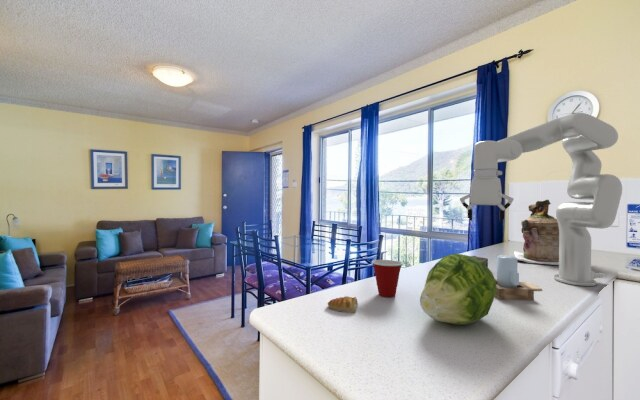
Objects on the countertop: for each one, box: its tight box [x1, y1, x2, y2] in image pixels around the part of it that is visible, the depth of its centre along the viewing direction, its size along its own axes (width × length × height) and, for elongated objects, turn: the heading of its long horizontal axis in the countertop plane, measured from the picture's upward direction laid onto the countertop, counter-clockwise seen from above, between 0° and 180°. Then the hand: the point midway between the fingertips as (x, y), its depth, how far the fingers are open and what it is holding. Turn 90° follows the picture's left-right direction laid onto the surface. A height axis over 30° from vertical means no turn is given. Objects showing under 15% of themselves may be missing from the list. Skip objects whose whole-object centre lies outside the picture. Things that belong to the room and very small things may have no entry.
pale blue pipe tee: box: [496, 254, 520, 288], centre depth 99 cm, size 6×10×13 cm, turn 175°
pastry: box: [327, 296, 359, 314], centre depth 90 cm, size 9×7×4 cm
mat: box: [519, 281, 543, 291], centre depth 108 cm, size 8×8×1 cm
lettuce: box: [419, 253, 497, 325], centre depth 81 cm, size 19×23×18 cm
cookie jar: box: [513, 199, 559, 266], centre depth 149 cm, size 25×25×32 cm
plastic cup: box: [371, 259, 403, 298], centre depth 101 cm, size 11×11×12 cm
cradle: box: [494, 278, 535, 301], centre depth 101 cm, size 11×11×4 cm
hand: (485, 220), depth 106 cm, fingers open, 9 cm apart
